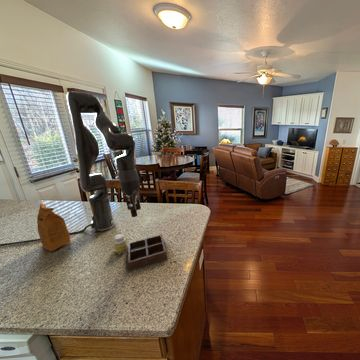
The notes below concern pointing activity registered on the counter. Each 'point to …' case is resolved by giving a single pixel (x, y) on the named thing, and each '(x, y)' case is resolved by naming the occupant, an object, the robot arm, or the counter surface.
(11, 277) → the counter surface
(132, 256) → the grid
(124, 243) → the supplement bottle
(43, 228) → the coffee package
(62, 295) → the counter surface
